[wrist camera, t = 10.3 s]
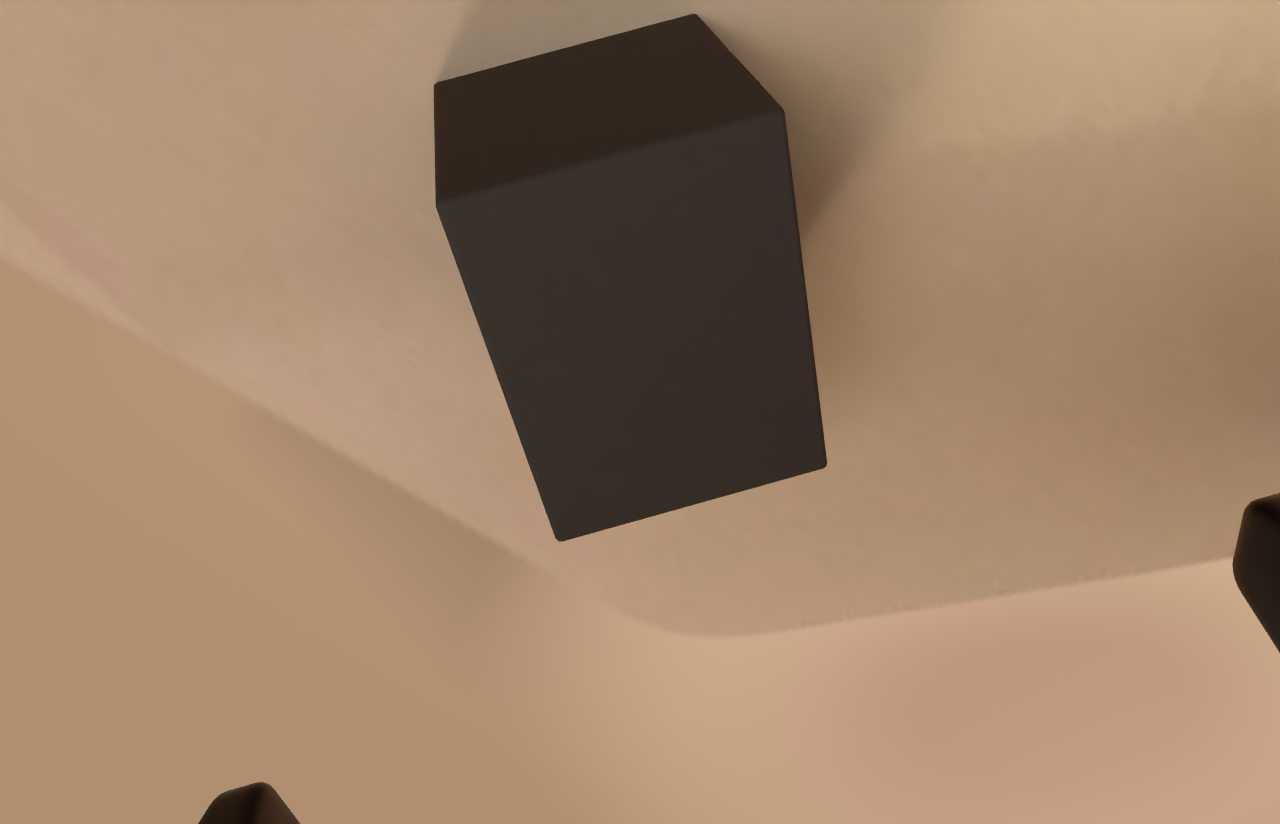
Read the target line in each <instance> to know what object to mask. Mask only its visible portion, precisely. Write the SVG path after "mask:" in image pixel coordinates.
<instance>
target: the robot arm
mask: <svg viewBox="0 0 1280 824" xmlns="http://www.w3.org/2000/svg"><path fill="white" fill-rule="evenodd" d="M1233 573H1234V577H1235V580H1236V583H1237V585H1238V587H1239V589H1240V591H1241V593H1242V594H1243V596H1244V597H1245V599H1246V600H1247V602H1248V603H1249V605H1250V607H1251V608H1252V610H1253V612H1254V613H1255V615H1256V616H1257V618H1258V619H1259V621H1260V623H1261V624H1262V626H1263V627H1264V629H1265V630H1266V632H1267V633H1268V635H1269V636H1270V638H1271V640H1272V641H1273V643H1274V644H1275V646H1276V648H1277V649H1278V651H1279V652H1280V493H1277V494H1274V495H1270V496H1267V497H1263V498H1260V499H1256V500H1254V501H1252V502H1250V503H1249V505H1248V506H1247V507H1246V508H1245V510H1244V513H1243V517H1242V522H1241V526H1240V531H1239V535H1238V540H1237V544H1236V549H1235V553H1234V558H1233ZM198 824H300V823H299V821H298V820H297V819H296V817H295V816H294V815H293V813H292V812H291V811H290V809H289V808H288V807H287V805H286V804H285V803H284V802H283V800H282V799H281V798H280V796H279V795H278V794H277V792H276V791H275V790H274V789H273V788H272V787H271V786H270V785H269V784H266V783H264V782H258V783H254V784H250V785H247V786H244V787H240V788H236V789H233V790H229V791H226V792H224V793H222V794H220V795H219V796H218V797H217V798H216V799H215V800H214V801H213V802H212V803H211V805H210V806H209V807H208V809H207V811H206V812H205V814H204V815H203V817H202V819H201V820H200V822H199V823H198Z"/></svg>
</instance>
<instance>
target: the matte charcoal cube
mask: <svg viewBox="0 0 1280 824" xmlns="http://www.w3.org/2000/svg"><path fill="white" fill-rule="evenodd" d="M434 131H435V187H436V208H437V211H438V214H439V216H440V219H441V222H442V225H443V228H444V230H445V233H446V236H447V239H448V241H449V244H450V247H451V250H452V252H453V255H454V258H455V261H456V264H457V266H458V269H459V272H460V275H461V277H462V280H463V283H464V286H465V289H466V291H467V294H468V297H469V300H470V302H471V305H472V308H473V311H474V313H475V316H476V319H477V322H478V325H479V327H480V330H481V333H482V336H483V338H484V341H485V344H486V347H487V349H488V352H489V355H490V358H491V361H492V363H493V366H494V369H495V372H496V374H497V377H498V380H499V383H500V385H501V388H502V391H503V394H504V397H505V399H506V402H507V405H508V408H509V410H510V413H511V416H512V419H513V421H514V424H515V427H516V430H517V433H518V435H519V438H520V441H521V444H522V446H523V449H524V452H525V455H526V457H527V460H528V463H529V466H530V469H531V471H532V474H533V477H534V480H535V482H536V485H537V488H538V491H539V493H540V496H541V499H542V502H543V505H544V507H545V510H546V513H547V516H548V518H549V521H550V524H551V527H552V529H553V532H554V535H555V538H556V539H557V540H558V541H566V540H569V539H573V538H576V537H580V536H583V535H587V534H591V533H594V532H598V531H601V530H605V529H608V528H612V527H616V526H619V525H623V524H626V523H630V522H633V521H637V520H641V519H644V518H648V517H651V516H655V515H658V514H662V513H666V512H669V511H673V510H676V509H680V508H684V507H687V506H691V505H694V504H698V503H701V502H705V501H709V500H712V499H716V498H719V497H723V496H726V495H730V494H734V493H737V492H741V491H744V490H748V489H751V488H755V487H759V486H762V485H766V484H769V483H773V482H776V481H780V480H784V479H787V478H791V477H794V476H798V475H801V474H805V473H809V472H812V471H816V470H819V469H823V468H825V467H826V465H827V458H826V450H825V442H824V433H823V425H822V417H821V409H820V401H819V392H818V384H817V376H816V368H815V359H814V351H813V343H812V335H811V327H810V318H809V310H808V302H807V294H806V286H805V277H804V269H803V261H802V253H801V245H800V236H799V228H798V220H797V212H796V203H795V195H794V187H793V179H792V171H791V162H790V154H789V146H788V138H787V130H786V121H785V113H784V110H783V109H782V107H781V106H780V105H779V104H778V103H777V102H776V101H775V100H774V99H773V97H772V96H771V95H770V94H769V93H768V92H767V91H766V90H765V89H764V88H763V87H762V85H761V84H760V83H759V82H758V81H757V80H756V79H755V78H754V77H753V76H752V75H751V74H750V72H749V71H748V70H747V69H746V68H745V67H744V66H743V65H742V64H741V63H740V62H739V60H738V59H737V58H736V57H735V56H734V55H733V54H732V53H731V52H730V51H729V50H728V48H727V47H726V46H725V45H724V44H723V43H722V42H721V41H720V40H719V39H718V38H717V37H716V35H715V34H714V33H713V32H712V31H711V30H710V29H709V28H708V27H707V26H706V25H705V23H704V22H703V21H702V20H701V19H700V18H699V17H698V16H697V15H696V14H691V15H687V16H683V17H680V18H676V19H672V20H669V21H665V22H661V23H657V24H654V25H650V26H646V27H642V28H639V29H635V30H631V31H628V32H624V33H620V34H616V35H613V36H609V37H605V38H602V39H598V40H594V41H590V42H587V43H583V44H579V45H576V46H572V47H568V48H564V49H561V50H557V51H553V52H550V53H546V54H542V55H538V56H535V57H531V58H527V59H524V60H520V61H516V62H512V63H509V64H505V65H501V66H497V67H494V68H490V69H486V70H483V71H479V72H475V73H471V74H468V75H464V76H460V77H457V78H453V79H449V80H445V81H442V82H438V83H436V84H435V85H434Z"/></svg>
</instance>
